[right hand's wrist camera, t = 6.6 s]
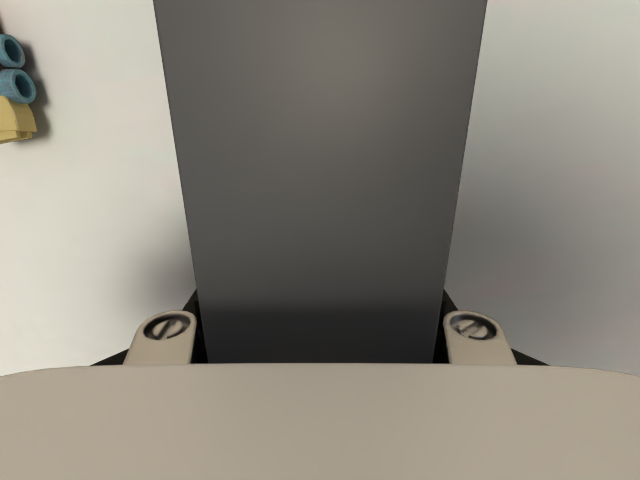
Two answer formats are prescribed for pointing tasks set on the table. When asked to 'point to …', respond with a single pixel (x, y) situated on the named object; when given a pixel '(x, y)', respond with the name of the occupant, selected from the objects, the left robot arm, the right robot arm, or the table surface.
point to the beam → (320, 169)
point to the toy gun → (14, 93)
